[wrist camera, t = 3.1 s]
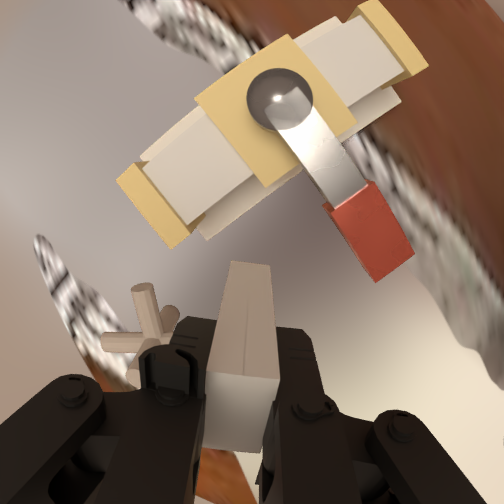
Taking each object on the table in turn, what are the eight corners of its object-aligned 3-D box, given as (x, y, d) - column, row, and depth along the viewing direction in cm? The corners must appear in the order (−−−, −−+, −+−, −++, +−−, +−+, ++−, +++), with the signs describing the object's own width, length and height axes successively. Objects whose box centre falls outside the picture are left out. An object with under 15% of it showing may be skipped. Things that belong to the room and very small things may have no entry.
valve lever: (401, 239, 17) (417, 251, 15) (360, 269, 17) (372, 285, 15) (282, 67, 14) (286, 55, 12) (236, 99, 15) (232, 91, 13)
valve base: (394, 103, 23) (453, 87, 14) (209, 236, 27) (184, 280, 18) (331, 22, 21) (362, -30, 12) (145, 156, 25) (89, 161, 16)
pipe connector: (228, 353, 31) (216, 426, 21) (138, 354, 32) (103, 418, 22) (213, 260, 28) (189, 316, 18) (113, 268, 28) (59, 318, 19)
